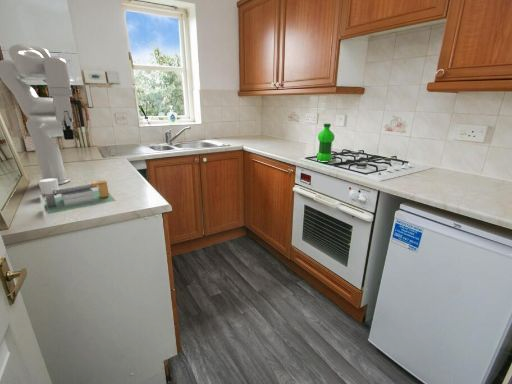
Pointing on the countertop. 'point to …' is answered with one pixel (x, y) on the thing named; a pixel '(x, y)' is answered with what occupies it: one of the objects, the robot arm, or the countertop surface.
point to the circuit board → (62, 207)
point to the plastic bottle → (325, 144)
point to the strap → (72, 189)
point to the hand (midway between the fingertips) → (69, 139)
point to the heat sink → (72, 198)
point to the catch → (101, 187)
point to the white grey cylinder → (48, 185)
